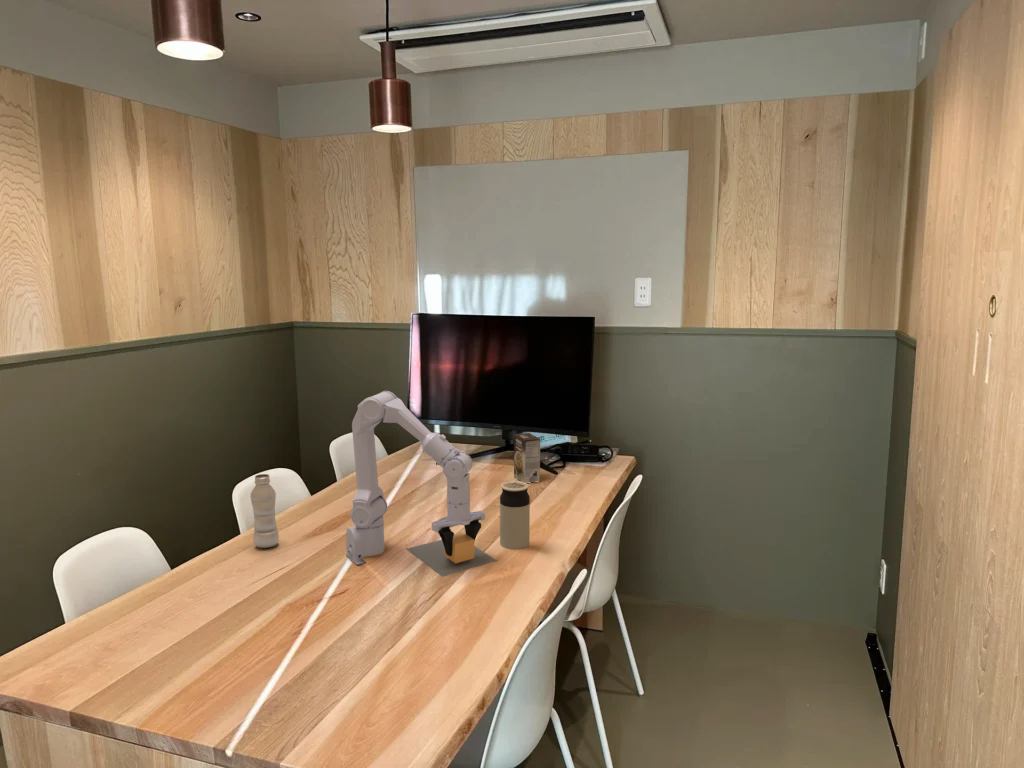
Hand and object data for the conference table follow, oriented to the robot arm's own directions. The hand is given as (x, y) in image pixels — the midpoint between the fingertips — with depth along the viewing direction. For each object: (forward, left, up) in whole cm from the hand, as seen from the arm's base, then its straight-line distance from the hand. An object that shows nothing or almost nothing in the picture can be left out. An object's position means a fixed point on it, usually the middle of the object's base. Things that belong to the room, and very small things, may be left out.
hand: (459, 551), depth 177 cm
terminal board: (0, +4, -4) cm, 6 cm away
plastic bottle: (-37, +41, -4) cm, 55 cm away
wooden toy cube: (0, 0, -1) cm, 1 cm away
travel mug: (+18, +1, -4) cm, 18 cm away
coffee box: (+56, +48, -4) cm, 74 cm away
